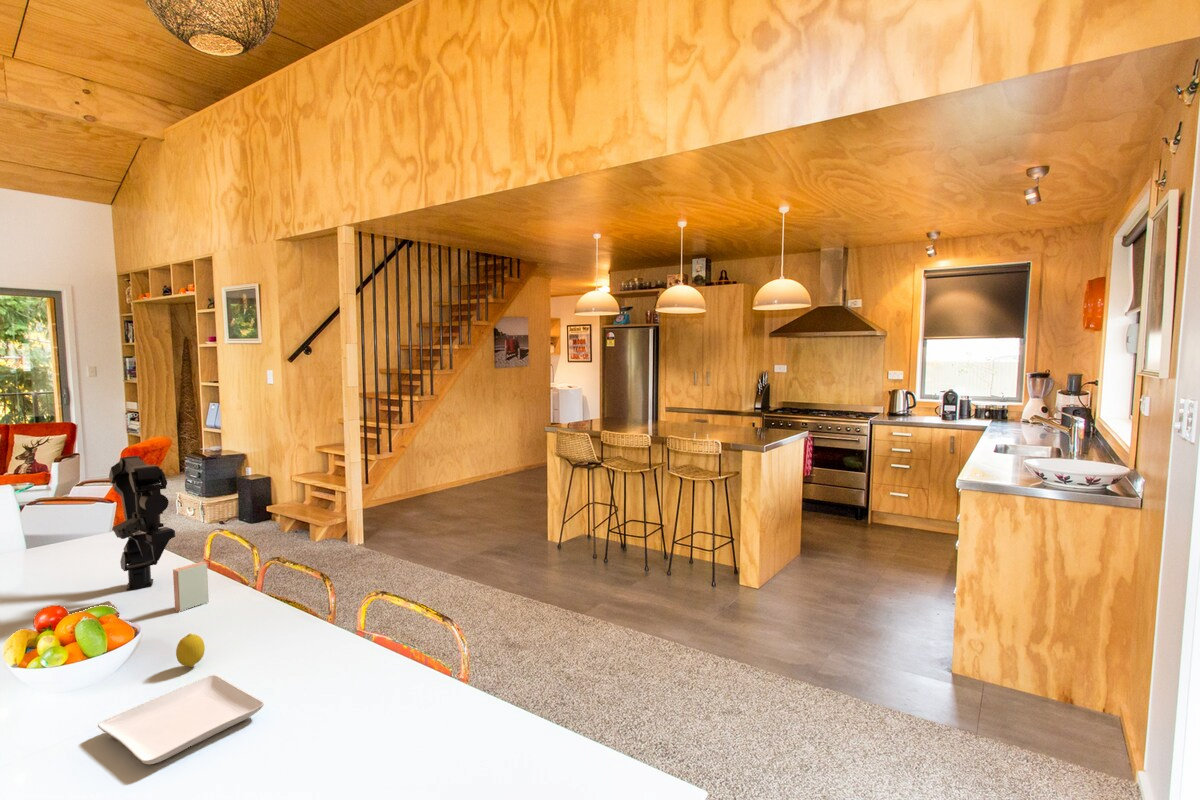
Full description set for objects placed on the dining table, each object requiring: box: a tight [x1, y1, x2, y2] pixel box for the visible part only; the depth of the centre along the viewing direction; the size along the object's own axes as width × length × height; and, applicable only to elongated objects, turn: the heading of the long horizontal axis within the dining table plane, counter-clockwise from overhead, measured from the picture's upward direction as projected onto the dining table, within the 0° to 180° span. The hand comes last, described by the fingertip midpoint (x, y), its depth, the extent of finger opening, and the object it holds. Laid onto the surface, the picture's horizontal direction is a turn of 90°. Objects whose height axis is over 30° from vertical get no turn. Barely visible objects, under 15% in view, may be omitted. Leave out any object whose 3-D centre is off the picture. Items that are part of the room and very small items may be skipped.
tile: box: [172, 561, 210, 612], centre depth 176 cm, size 2×8×12 cm, turn 150°
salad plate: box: [97, 674, 265, 765], centre depth 119 cm, size 21×21×3 cm
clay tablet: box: [68, 600, 118, 614], centre depth 171 cm, size 14×10×3 cm
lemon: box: [175, 633, 206, 668], centre depth 142 cm, size 6×6×8 cm
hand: (150, 558), depth 183 cm, fingers open, 7 cm apart
